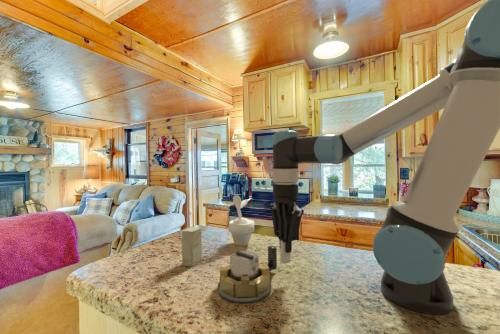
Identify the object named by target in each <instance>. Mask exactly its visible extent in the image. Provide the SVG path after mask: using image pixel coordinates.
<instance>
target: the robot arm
mask: <svg viewBox="0 0 500 334" xmlns="http://www.w3.org/2000/svg"><path fill="white" fill-rule="evenodd" d="M441 110H442V113H441V114H440V117H439V119H438V121H437V123H436V126H435V128H434V131H433V132H432V134H431V137H430V139H429V142H428V143H427V146H426V148H425V150H424V152H423V154H422V157H421V158H420V160H419V161H420V162H419V164H418V166H417V168H416V170H415V172H414V174H413V176H412V179H411V181H410V184H409V186H408V187H407V190H406V193H405V195H404V197H403V199H401V200H398V201H395V202H392V203H391V206H389V207H388V208H387V211H386V212H387V213H386V215H385V218H384V222H383V224H382V226H381V228H380V229H379V230H378V231H377V232H376V233H375V234H374V238H373V241H372V253H373V256H374V258H375V260H376V262H377V264H378V265H379V266H380V268H382V270H383V273H382V276H381V280H380V290H381V293H382V294H383V295H384V296H385V297H386V298H387V299H388V300H389V301H392V302H394V304H396V305H398V306H401V307H403V308H405V309H409V310H411V311H414V312H418V313H422V314H429V315H446V314H450V313H451V312H452V311H453V310H454V305H455V304H454V295H453V294H452V291H451V288H450V286H449V283H448V281H447V278H446V275H445V272H444V270H445V268H446V264H447V263H446V257H447V255H448V253H449V250H450V249H451V247H452V245H453V243H454V241H455V239H456V237H457V236H458V233H459V231H460V229H459V227H458V226H457V224H456V221H455V219H454V218H455V215H456V214H457V212H458V210H459V208H460V206H461V204H462V202H463V201H464V198H465V196H466V195H467V193H468V191H469V188H470V187H471V185H472V183H473V180H474V179H475V177H476V175H477V174H478V171H479V169H480V167H481V165H482V163H483V161H484V160H485V158H486V156H487V154H488V151H489V150H490V148H491V146H492V144H493V142H494V140H495V138H496V136H497V134H498V133H499V130H500V0H487V1H485V3H483V4H482V5H481V6H480V7H479V8H478V9H477V10H476V11H475V13H474V14H473V15H472V16H471V19H470V20H469V22H468V23H467V25H466V28H465V30H464V39H463V42H462V44H461V47H460V49H459V52H458V54H457V56H456V58H455V59H454V60H453V61H451V62H450V63H448V64H446V65H445V66H444V67H441V68H440V69H439V72H438V75H436V76H435V77H434V78H432V79H430V80H428V81H427V82H425V83H423V84H422V85H420V86H418V87H417V88H415V89H413V90H412V91H410V92H408V93H407V94H405V95H403V96H401V97H399V98H398V99H397V100H395V101H393V102H391V103H390V104H388V105H387V106H385V107H383V108H381V109H380V110H378V111H376V112H375V113H373V114H372V115H370V116H369V117H367V118H365V119H363V120H361V121H360V122H358V123H356V124H355V125H353V126H351V127H349V128H348V129H347V130H346V129H345V130H344V131H343V132H342V133H339V134H325V133H324V134H319V135H310V136H299V133H298V131H296V130H278V131H276V132H274V134H273V138H272V147H271V148H272V182H274V183H273V185H272V196H274V197H275V199H274V202H273V203H270V204H269V209H270V211H271V218H272V226H273V232H274V236H275V237H277V238H278V240H279V250H280V251H279V252H280V259H279V260H280V264H282V265H285V264H289V263H291V260H292V259H291V257H292V256H291V253H292V246H293V244H292V242H294V241H297V240H298V237H299V231H300V227H301V220H302V216H303V215H304V213H305V210H304V209H303V208H300V207H299V206H298V201H297V198H298V196H299V185H298V184H297V183H298V182H299V164H324V165H326V164H327V165H328V164H332V165H341V164H344V163H345V162H347V161H348V160H349V159H350V158H351V157H353V156H355V155H356V154H358V153H360V152H361V151H363V150H365V149H367V148H369V147H372V146H374V145H376V144H377V143H379V142H381V141H383V140H385V139H387V138H389V137H391V136H393V135H395V134H397V133H398V132H400V131H402V130H405V129H407V128H409V127H410V126H412V125H414V124H416V123H419V122H420V121H423V120H425V119H426V118H428V117H430V116H432V115H434V114H436V113H438V112H440V111H441Z"/></svg>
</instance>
